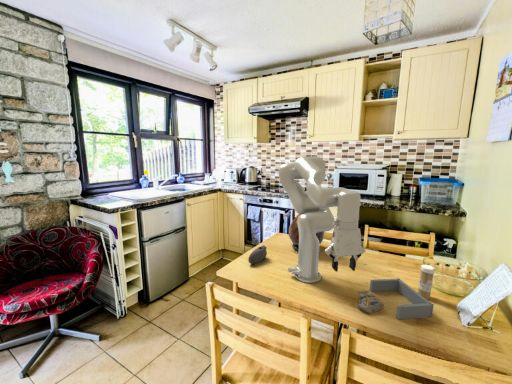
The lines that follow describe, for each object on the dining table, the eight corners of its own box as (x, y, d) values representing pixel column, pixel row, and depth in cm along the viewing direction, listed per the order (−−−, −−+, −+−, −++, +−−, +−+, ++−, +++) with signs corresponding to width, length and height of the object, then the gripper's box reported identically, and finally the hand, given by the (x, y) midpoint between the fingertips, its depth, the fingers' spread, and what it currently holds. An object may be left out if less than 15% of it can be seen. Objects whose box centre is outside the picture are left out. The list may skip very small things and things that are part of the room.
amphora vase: (327, 246, 153) (330, 203, 148) (317, 259, 134) (320, 210, 130) (295, 239, 164) (297, 199, 159) (282, 250, 145) (283, 205, 140)
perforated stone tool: (252, 267, 124) (252, 254, 123) (244, 264, 128) (244, 252, 127) (269, 257, 136) (269, 246, 135) (262, 255, 139) (262, 243, 138)
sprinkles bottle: (414, 293, 103) (418, 264, 101) (424, 292, 103) (428, 263, 101) (423, 300, 98) (427, 269, 96) (433, 299, 99) (437, 269, 97)
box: (398, 319, 87) (399, 307, 86) (369, 290, 105) (370, 279, 104) (431, 317, 88) (433, 304, 87) (397, 288, 106) (399, 278, 105)
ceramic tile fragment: (354, 287, 101) (379, 291, 99) (353, 294, 102) (379, 298, 100) (358, 305, 90) (387, 310, 87) (357, 313, 91) (387, 318, 88)
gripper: (328, 228, 84) (325, 275, 87) (375, 227, 86) (370, 273, 89) (320, 221, 91) (318, 265, 94) (363, 220, 93) (359, 264, 96)
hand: (343, 269), depth 91 cm, fingers open, 6 cm apart
